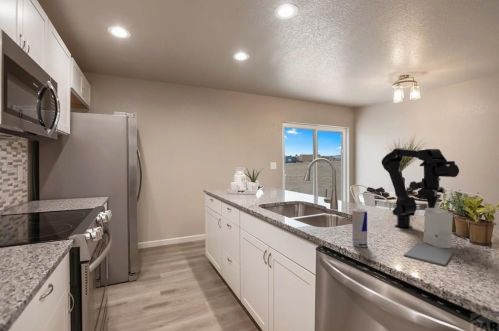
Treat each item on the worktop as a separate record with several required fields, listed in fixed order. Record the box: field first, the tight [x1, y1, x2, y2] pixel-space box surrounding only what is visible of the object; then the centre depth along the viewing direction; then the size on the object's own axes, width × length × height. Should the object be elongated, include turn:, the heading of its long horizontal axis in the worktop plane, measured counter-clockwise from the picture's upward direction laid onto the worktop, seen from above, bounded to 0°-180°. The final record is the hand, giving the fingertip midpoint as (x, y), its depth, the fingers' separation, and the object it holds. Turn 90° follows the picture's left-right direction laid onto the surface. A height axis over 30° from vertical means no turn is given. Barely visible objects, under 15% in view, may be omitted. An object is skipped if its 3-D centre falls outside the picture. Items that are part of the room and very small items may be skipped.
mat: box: [403, 242, 455, 267], centre depth 92 cm, size 18×12×1 cm, turn 132°
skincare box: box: [422, 207, 454, 249], centre depth 101 cm, size 8×6×15 cm
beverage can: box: [351, 208, 368, 248], centre depth 101 cm, size 6×6×15 cm
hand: (431, 209), depth 112 cm, fingers closed
